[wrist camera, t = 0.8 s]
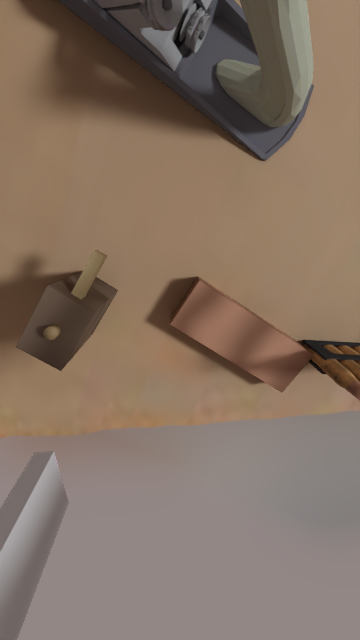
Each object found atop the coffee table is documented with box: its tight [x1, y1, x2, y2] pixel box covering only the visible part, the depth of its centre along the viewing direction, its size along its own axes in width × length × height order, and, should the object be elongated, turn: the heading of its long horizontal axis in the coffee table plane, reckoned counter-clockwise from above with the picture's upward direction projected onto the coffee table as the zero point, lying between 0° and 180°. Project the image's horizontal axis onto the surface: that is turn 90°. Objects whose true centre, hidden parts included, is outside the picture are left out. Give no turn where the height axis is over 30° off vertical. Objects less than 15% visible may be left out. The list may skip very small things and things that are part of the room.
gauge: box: [16, 250, 118, 371], centre depth 25 cm, size 4×10×10 cm, turn 147°
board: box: [170, 277, 313, 392], centre depth 30 cm, size 15×6×2 cm, turn 57°
